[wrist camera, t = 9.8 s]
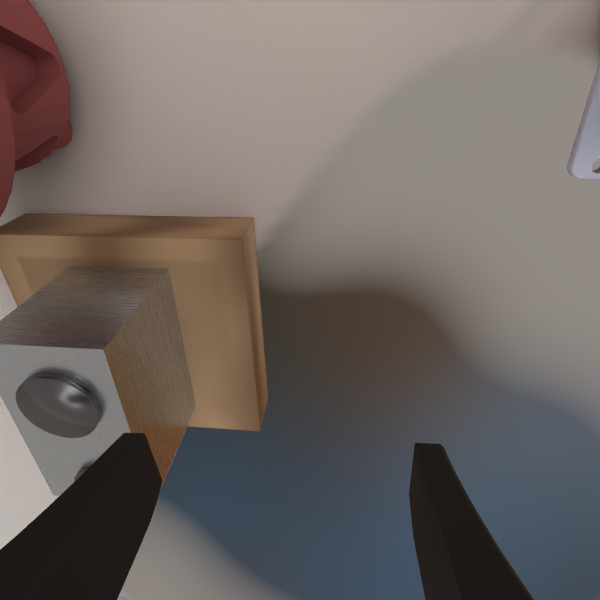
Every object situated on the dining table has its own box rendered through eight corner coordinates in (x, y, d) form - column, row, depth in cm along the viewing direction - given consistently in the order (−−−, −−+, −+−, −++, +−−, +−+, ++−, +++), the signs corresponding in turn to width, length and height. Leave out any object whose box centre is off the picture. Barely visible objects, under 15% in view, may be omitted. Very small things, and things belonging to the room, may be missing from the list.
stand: (253, 218, 19) (241, 240, 17) (267, 397, 24) (260, 431, 22) (24, 213, 20) (-14, 234, 18) (89, 386, 25) (66, 418, 23)
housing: (196, 405, 22) (151, 510, 17) (115, 400, 22) (49, 501, 17) (168, 268, 18) (98, 355, 13) (70, 265, 18) (-35, 348, 13)
